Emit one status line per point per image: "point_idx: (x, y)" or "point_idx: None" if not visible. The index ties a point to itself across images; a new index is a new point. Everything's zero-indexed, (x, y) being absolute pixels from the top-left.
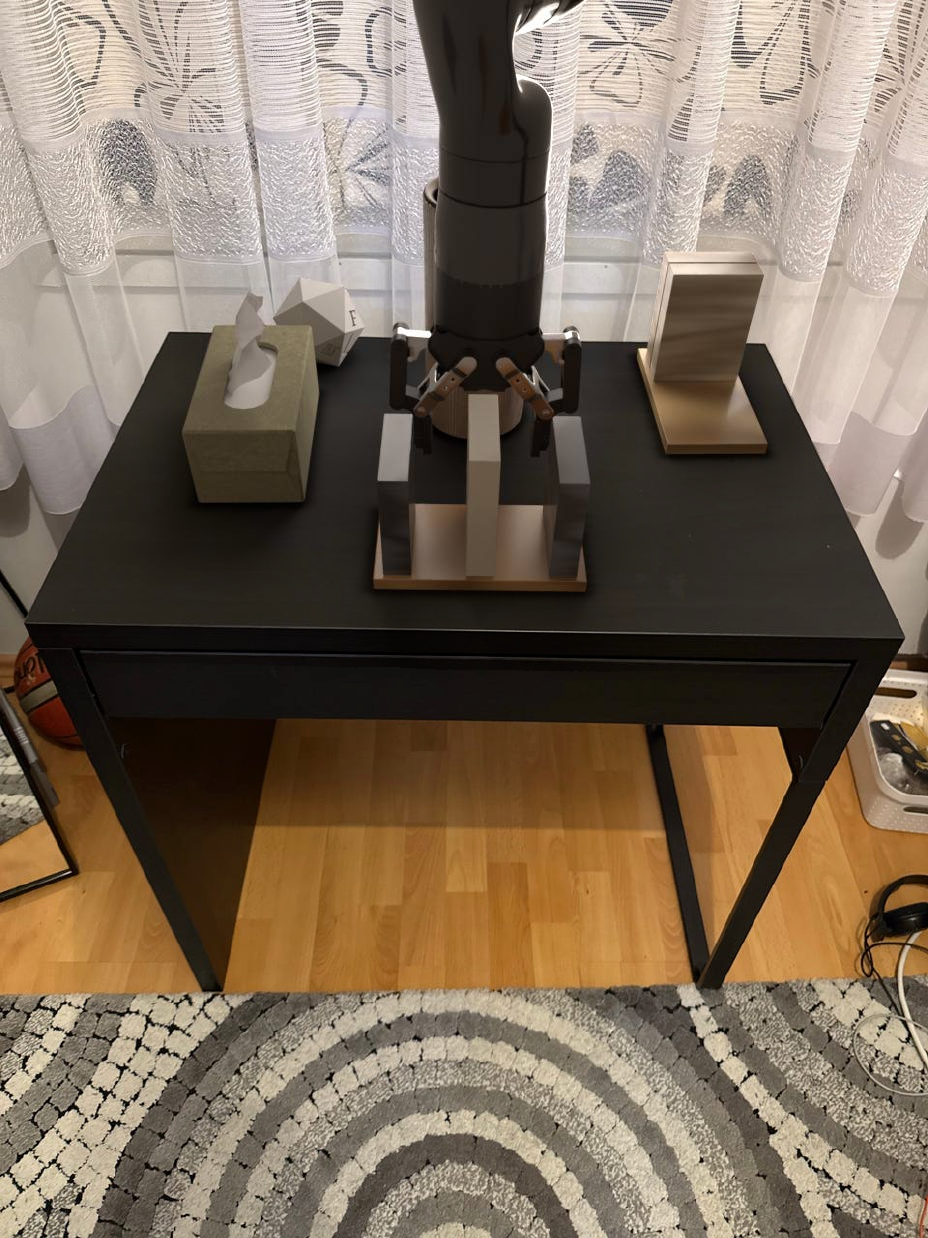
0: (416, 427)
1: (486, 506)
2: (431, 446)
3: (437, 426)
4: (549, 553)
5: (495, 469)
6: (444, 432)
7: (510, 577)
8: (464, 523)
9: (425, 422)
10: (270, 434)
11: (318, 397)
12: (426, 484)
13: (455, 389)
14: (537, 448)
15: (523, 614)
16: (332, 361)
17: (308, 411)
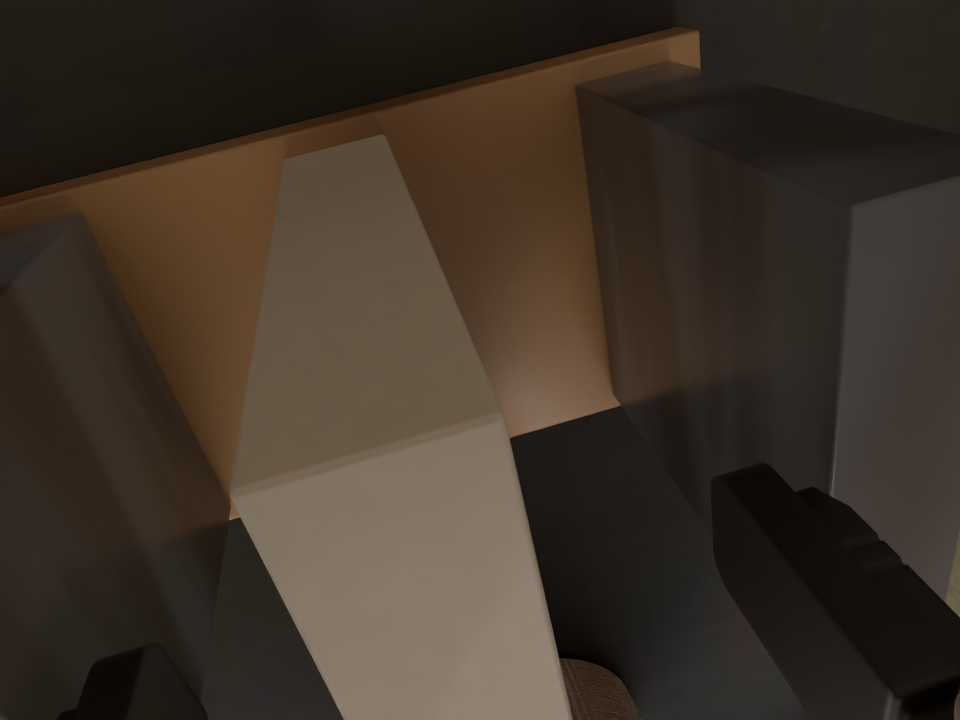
0: (918, 595)
1: (326, 269)
2: (752, 512)
3: (600, 670)
4: (86, 287)
5: (273, 431)
6: (579, 660)
7: (222, 171)
8: None
9: (912, 648)
10: None
11: None
12: (590, 496)
13: None
14: (92, 713)
15: (126, 30)
16: None
17: (953, 599)
